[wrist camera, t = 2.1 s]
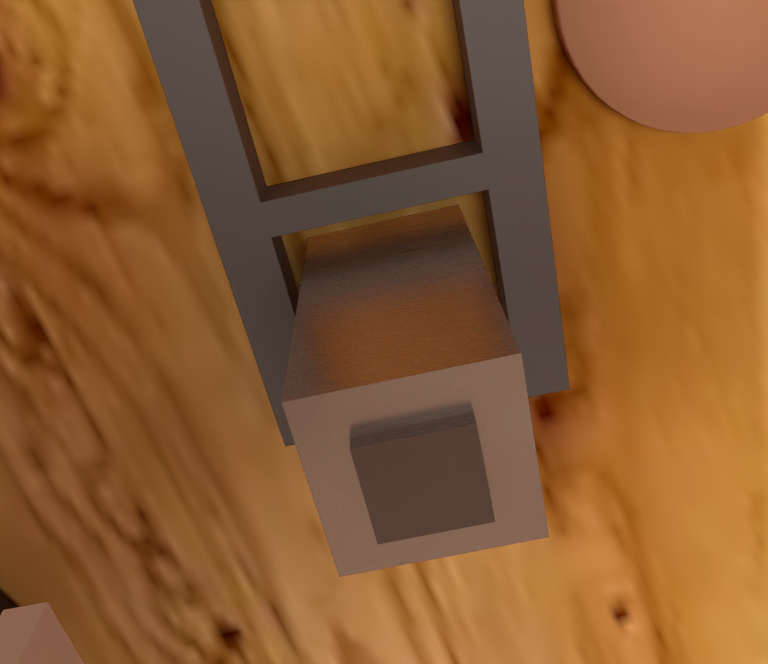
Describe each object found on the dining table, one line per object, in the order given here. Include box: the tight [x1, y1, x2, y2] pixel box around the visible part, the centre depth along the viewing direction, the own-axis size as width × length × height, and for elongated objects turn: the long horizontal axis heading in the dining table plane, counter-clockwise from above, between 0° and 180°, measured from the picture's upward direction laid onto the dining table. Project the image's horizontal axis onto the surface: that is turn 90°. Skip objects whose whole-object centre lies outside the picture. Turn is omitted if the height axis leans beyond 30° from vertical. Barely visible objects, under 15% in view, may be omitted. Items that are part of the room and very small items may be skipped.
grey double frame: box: [133, 0, 570, 446], centre depth 20 cm, size 9×14×2 cm, turn 12°
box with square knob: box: [282, 205, 549, 577], centre depth 18 cm, size 4×4×9 cm
